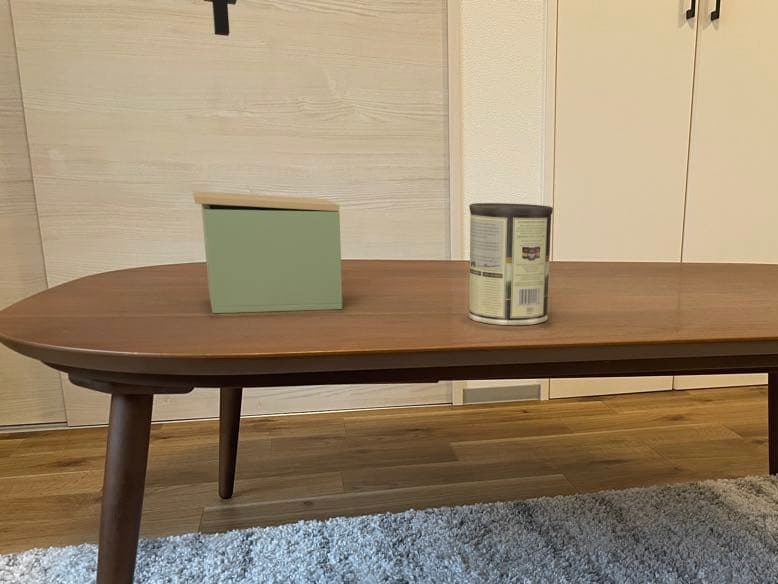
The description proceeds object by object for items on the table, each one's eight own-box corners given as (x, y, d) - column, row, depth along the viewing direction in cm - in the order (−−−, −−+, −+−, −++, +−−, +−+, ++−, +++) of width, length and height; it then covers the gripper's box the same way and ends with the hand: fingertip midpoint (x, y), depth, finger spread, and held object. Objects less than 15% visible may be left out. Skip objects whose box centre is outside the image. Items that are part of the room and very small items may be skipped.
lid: (195, 203, 90) (194, 195, 90) (193, 197, 100) (193, 191, 100) (339, 211, 97) (339, 204, 97) (324, 205, 107) (324, 199, 107)
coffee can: (496, 307, 107) (499, 201, 102) (561, 317, 102) (567, 207, 98) (451, 318, 98) (452, 203, 94) (520, 329, 93) (525, 209, 89)
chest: (212, 313, 94) (204, 209, 91) (209, 297, 104) (201, 203, 101) (342, 309, 101) (339, 211, 97) (327, 294, 111) (324, 205, 107)
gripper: (136, -234, 79) (160, 22, 85) (272, -204, 84) (283, 35, 91) (140, -205, 85) (161, 31, 92) (265, -178, 90) (276, 43, 97)
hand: (222, 33), depth 91 cm, fingers closed
